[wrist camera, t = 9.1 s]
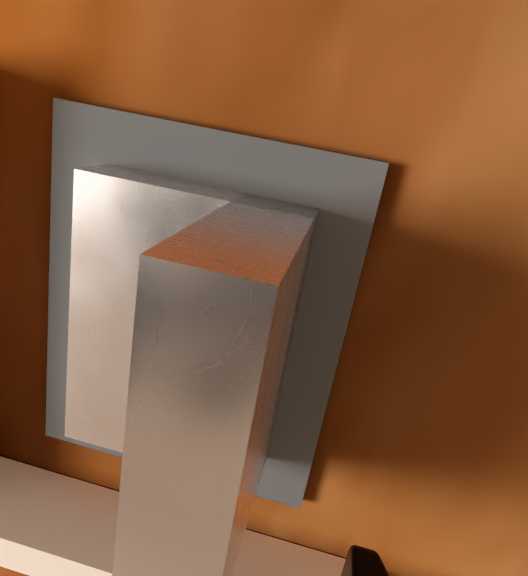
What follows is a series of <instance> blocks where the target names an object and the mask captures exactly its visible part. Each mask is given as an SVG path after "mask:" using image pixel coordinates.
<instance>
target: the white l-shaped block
mask: <svg viewBox="0 0 528 576" xmlns="http://www.w3.org/2000/svg"><path fill="white" fill-rule="evenodd" d="M118 501H119V492H118V491H115V490H112V489H108V488H105V487H102V486H98V485H95V484H91V483H88V482H85V481H81V480H78V479H75V478H71V477H68V476H65V475H61V474H58V473H54V472H51V471H48V470H44V469H41V468H38V467H34V466H31V465H28V464H24V463H21V462H17V461H14V460H11V459H7V458H4V457H1V456H0V566H1V567H4V568H8V569H11V570H14V571H17V572H20V573H23V574H26V575H29V576H112V571H113V559H114V548H115V536H116V525H117V513H118ZM345 560H346V559H344V558H341V557H337V556H334V555H330V554H327V553H324V552H320V551H317V550H314V549H310V548H307V547H304V546H300V545H297V544H293V543H290V542H287V541H283V540H280V539H277V538H273V537H270V536H266V535H263V534H260V533H256V532H253V531H250V530H245V533H244V537H243V540H242V544H241V547H240V550H239V554H238V557H237V561H236V564H235V567H234V571H233V574H232V576H341V573H342V570H343V567H344V564H345Z"/></svg>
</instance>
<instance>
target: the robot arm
mask: <svg viewBox="0 0 528 576" xmlns="http://www.w3.org/2000/svg"><path fill="white" fill-rule="evenodd" d="M341 576H389V575H388V573H387V571H386V569H385V566H384V564H383V562H382V560H381V558H380V556H379V555H378V553H377V552H375V551H374V550H370V549H367V548H364V547H360V546H357V545H353V546H351V547H350V549H349V551H348V554H347V557H346V560H345V564H344V567H343V570H342V573H341Z"/></svg>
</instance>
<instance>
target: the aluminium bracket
mask: <svg viewBox="0 0 528 576" xmlns="http://www.w3.org/2000/svg"><path fill="white" fill-rule="evenodd" d="M318 213H319V208H315V207H310V206H305V205H300V204H296V203H291V202H286V201H281V200H276V199H271V198H266V197H262V196H257V195H252V194H247V193H242V192H237V191H233V190H228V189H223V188H218V187H213V186H208V185H204V184H199V183H194V182H189V181H184V180H179V179H175V178H170V177H165V176H160V175H155V174H150V173H145V172H141V171H136V170H131V169H126V168H121V167H116V166H112V165H107V164H101V165H94V166H88V167H82V168H75V169H74V182H73V210H72V238H71V267H70V295H69V323H68V352H67V380H66V408H65V437H68V438H72V439H76V440H79V441H83V442H86V443H90V444H93V445H97V446H100V447H104V448H107V449H111V450H114V451H118V452H121V453H123V455H122V467H121V478H120V490H119V501H118V513H117V525H116V536H115V548H114V559H113V571H112V576H232V574H233V571H234V567H235V564H236V561H237V557H238V554H239V550H240V547H241V544H242V540H243V537H244V533H245V530H246V526H247V523H248V520H249V516H250V513H251V509H252V506H253V503H254V499H255V496H256V492H257V489H258V486H259V482H260V479H261V475H262V472H263V468H264V465H265V462H266V458H267V454H268V449H269V444H270V440H271V435H272V430H273V425H274V421H275V416H276V411H277V407H278V402H279V397H280V392H281V388H282V383H283V378H284V373H285V369H286V364H287V359H288V355H289V350H290V345H291V340H292V336H293V331H294V326H295V322H296V317H297V312H298V307H299V303H300V298H301V293H302V289H303V284H304V279H305V274H306V270H307V265H308V260H309V256H310V251H311V246H312V241H313V237H314V232H315V227H316V223H317V218H318Z"/></svg>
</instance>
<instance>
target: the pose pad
mask: <svg viewBox="0 0 528 576" xmlns="http://www.w3.org/2000/svg"><path fill="white" fill-rule="evenodd" d="M101 164H107V165H112V166H116V167H121V168H126V169H131V170H136V171H141V172H145V173H150V174H155V175H160V176H165V177H170V178H175V179H179V180H184V181H189V182H194V183H199V184H204V185H208V186H213V187H218V188H223V189H228V190H233V191H237V192H242V193H247V194H252V195H257V196H262V197H266V198H271V199H276V200H281V201H286V202H291V203H296V204H300V205H305V206H310V207H315V208H319V213H318V218H317V223H316V227H315V232H314V237H313V241H312V246H311V251H310V256H309V260H308V265H307V270H306V274H305V279H304V284H303V289H302V293H301V298H300V303H299V307H298V312H297V317H296V322H295V326H294V331H293V336H292V340H291V345H290V350H289V355H288V359H287V364H286V369H285V373H284V378H283V383H282V388H281V392H280V397H279V402H278V407H277V411H276V416H275V421H274V425H273V430H272V435H271V440H270V444H269V449H268V454H267V458H266V462H265V465H264V468H263V472H262V475H261V479H260V482H259V486H258V489H257V492H256V496H258V497H261V498H265V499H268V500H272V501H275V502H279V503H282V504H286V505H289V506H293V507H296V508H301V504H302V500H303V497H304V493H305V489H306V485H307V481H308V477H309V473H310V469H311V465H312V462H313V458H314V454H315V450H316V446H317V442H318V438H319V434H320V430H321V427H322V423H323V419H324V415H325V411H326V407H327V403H328V399H329V395H330V392H331V388H332V384H333V380H334V376H335V372H336V368H337V364H338V360H339V357H340V353H341V349H342V345H343V341H344V337H345V333H346V329H347V325H348V322H349V318H350V314H351V310H352V306H353V302H354V298H355V294H356V290H357V287H358V283H359V279H360V275H361V271H362V267H363V263H364V259H365V255H366V252H367V248H368V244H369V240H370V236H371V232H372V228H373V224H374V220H375V217H376V213H377V209H378V205H379V201H380V197H381V193H382V189H383V185H384V182H385V178H386V174H387V170H388V166H389V162H384V161H379V160H374V159H369V158H364V157H359V156H354V155H349V154H343V153H338V152H333V151H328V150H323V149H318V148H313V147H308V146H302V145H297V144H292V143H287V142H282V141H277V140H272V139H266V138H261V137H256V136H251V135H246V134H241V133H236V132H231V131H225V130H220V129H215V128H210V127H205V126H200V125H195V124H189V123H184V122H179V121H174V120H169V119H164V118H159V117H154V116H148V115H143V114H138V113H133V112H128V111H123V110H118V109H113V108H107V107H102V106H97V105H92V104H87V103H82V102H77V101H71V100H66V99H61V98H53V121H52V166H51V210H50V254H49V298H48V342H47V386H46V431H45V435H46V436H49V437H53V438H56V439H60V440H63V441H67V442H70V443H74V444H77V445H81V446H84V447H88V448H91V449H95V450H98V451H102V452H105V453H109V454H112V455H116V456H119V457H122V455H123V453H121V452H118V451H114V450H111V449H107V448H104V447H100V446H97V445H93V444H90V443H86V442H83V441H79V440H76V439H72V438H68V437H65V408H66V380H67V352H68V323H69V295H70V267H71V238H72V210H73V182H74V169H75V168H82V167H88V166H94V165H101Z"/></svg>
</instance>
